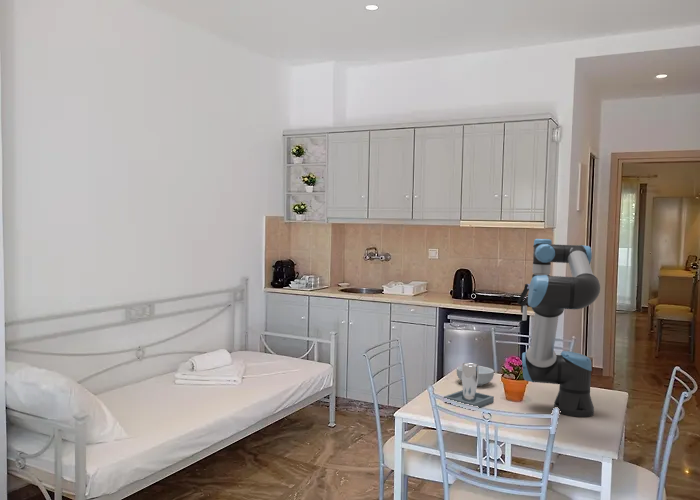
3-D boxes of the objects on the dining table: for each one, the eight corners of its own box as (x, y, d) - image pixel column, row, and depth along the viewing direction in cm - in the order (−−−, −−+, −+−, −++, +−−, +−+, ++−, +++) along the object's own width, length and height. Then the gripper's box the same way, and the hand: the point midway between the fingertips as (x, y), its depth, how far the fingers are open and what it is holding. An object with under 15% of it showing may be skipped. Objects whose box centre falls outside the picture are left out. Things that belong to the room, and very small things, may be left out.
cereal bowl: (498, 383, 284) (499, 368, 284) (486, 391, 270) (486, 375, 270) (463, 377, 293) (464, 362, 293) (450, 384, 279) (451, 369, 279)
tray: (493, 402, 253) (493, 396, 253) (473, 410, 241) (473, 404, 241) (464, 395, 262) (464, 389, 262) (443, 402, 251) (443, 396, 251)
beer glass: (479, 403, 248) (480, 366, 248) (461, 402, 248) (463, 366, 248) (475, 398, 255) (477, 362, 255) (459, 397, 255) (460, 362, 255)
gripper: (572, 276, 260) (570, 325, 261) (518, 271, 277) (516, 317, 278) (565, 277, 255) (563, 327, 256) (510, 272, 271) (508, 319, 272)
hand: (538, 322), depth 267 cm, fingers open, 13 cm apart
